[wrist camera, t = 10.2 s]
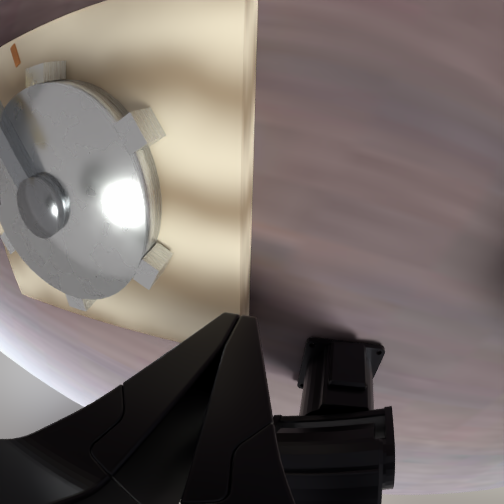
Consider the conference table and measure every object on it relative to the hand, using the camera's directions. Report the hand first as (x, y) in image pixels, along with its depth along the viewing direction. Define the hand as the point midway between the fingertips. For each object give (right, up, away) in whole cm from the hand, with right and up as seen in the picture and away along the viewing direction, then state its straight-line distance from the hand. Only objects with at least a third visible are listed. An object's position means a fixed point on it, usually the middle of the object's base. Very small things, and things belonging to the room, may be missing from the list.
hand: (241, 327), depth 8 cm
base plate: (-11, +8, +13) cm, 19 cm away
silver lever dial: (-12, +6, +11) cm, 17 cm away
